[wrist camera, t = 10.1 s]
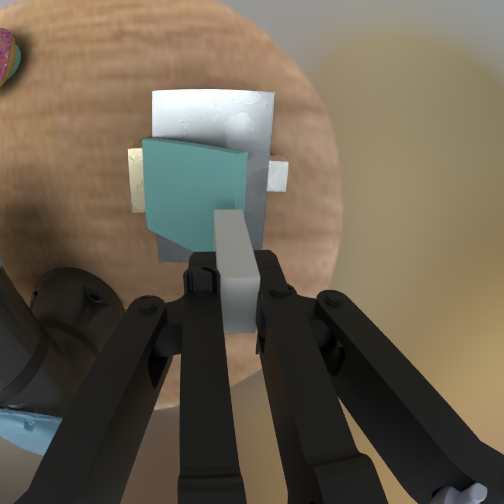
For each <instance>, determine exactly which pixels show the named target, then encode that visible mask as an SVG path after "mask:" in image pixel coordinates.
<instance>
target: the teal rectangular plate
mask: <svg viewBox="0 0 504 504" xmlns="http://www.w3.org/2000/svg"><path fill="white" fill-rule="evenodd" d="M142 154H143V179H144V196H145V210H146V222H147V229H149V230H151V231H153V232H155V233H157V234H159V235H161V236H163V237H165V238H167V239H169V240H171V241H173V242H175V243H177V244H179V245H181V246H183V247H185V248H187V249H189V250H191V251H194V252H206V251H214V210H242V212H243V216H244V208H245V190H246V173H247V156H248V152H244V151H238V150H233V149H227V148H221V147H215V146H209V145H203V144H197V143H190V142H183V141H175V140H168V139H160V138H146V139H142Z"/></svg>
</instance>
